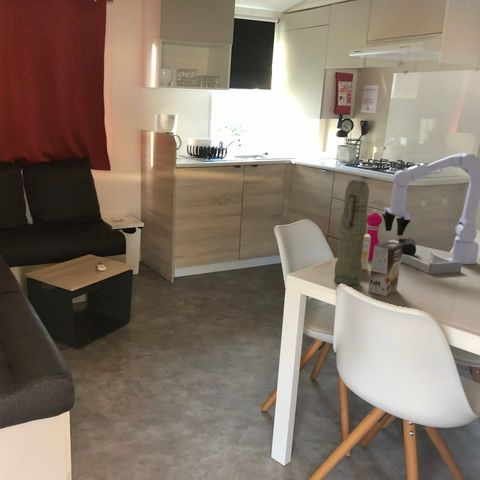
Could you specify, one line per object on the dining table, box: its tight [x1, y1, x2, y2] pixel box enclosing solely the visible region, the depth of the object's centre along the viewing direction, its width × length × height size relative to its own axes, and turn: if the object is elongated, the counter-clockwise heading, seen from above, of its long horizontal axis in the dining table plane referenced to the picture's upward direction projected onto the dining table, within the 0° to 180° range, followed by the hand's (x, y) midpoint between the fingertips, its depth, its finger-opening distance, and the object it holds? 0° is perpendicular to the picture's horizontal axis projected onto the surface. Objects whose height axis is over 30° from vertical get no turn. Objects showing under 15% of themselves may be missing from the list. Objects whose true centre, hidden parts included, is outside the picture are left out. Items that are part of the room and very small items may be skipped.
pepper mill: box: [366, 209, 383, 261], centre depth 215 cm, size 7×7×20 cm
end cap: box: [398, 237, 417, 257], centre depth 224 cm, size 10×7×7 cm
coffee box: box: [367, 240, 403, 297], centre depth 178 cm, size 9×6×16 cm
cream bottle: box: [361, 233, 371, 271], centre depth 201 cm, size 8×5×13 cm, turn 84°
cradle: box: [401, 251, 463, 275], centre depth 211 cm, size 18×17×4 cm
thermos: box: [333, 179, 370, 287], centre depth 182 cm, size 9×12×35 cm
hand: (394, 233), depth 222 cm, fingers open, 7 cm apart
